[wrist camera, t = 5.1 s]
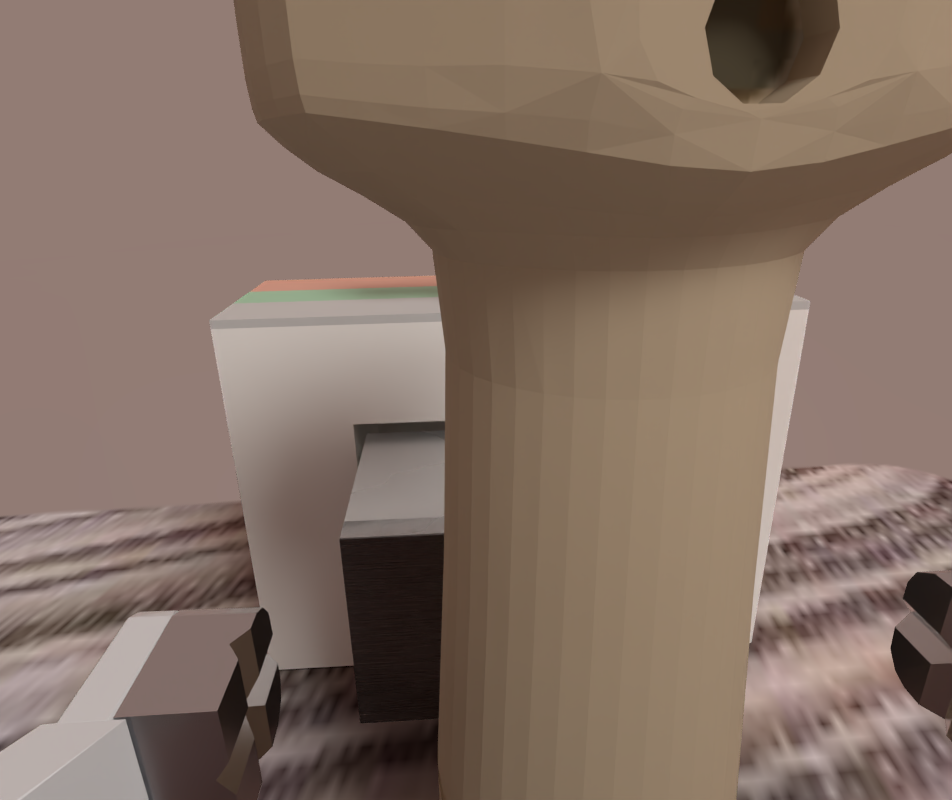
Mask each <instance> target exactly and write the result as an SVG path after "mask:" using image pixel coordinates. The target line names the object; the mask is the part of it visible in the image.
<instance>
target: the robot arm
mask: <svg viewBox="0 0 952 800" xmlns="http://www.w3.org/2000/svg"><path fill="white" fill-rule="evenodd" d="M903 600H904V602H905V603H906V605H907V607H908V609H909V610H910V613H909V614H908V615H907V616H906V617H905V618H904V619H903V620H902V621H901V622H900V623H899V624H898V625H897V626H896V627H895V630H894V635H893V639H892V644H891V653H892V658H893V662H894V667H895V671H896V673H897V675H898V677H899V678H900V680H901V682H902V684H903V686H904V688H905V689H906V690H907V691H908V692H909V693H910V695H911V696H912V697H913V698H914V699H915V700H916V702H917V703H918V704H919V705H921V706H922V707H924V708H926V709H928V710H930V711H931V712H933V713H935V714H937V715H938V716H940V717H942V718H944V719H945V726H946V736H947V737H948V738H949V739H950V740H951V741H952V570H945V571H929V572H917V573H916V574H915V575H914V576H913V577H912V578H911V579H910V580H909V581H908V583H907V587H906V590H905V593H904V597H903ZM272 636H273V632H272V627H271V622H270V617H269V613H268V612H267V611H266V610H265V609H264V608H263V607H257V608H225V609H194V610H180V611H152V612H138V613H136V614H134V615H133V616H131V617H129V618H128V619H127V620H126V621H125V623H124V624H123V626H122V627H121V629H120V630H119V632H118V633H117V635H116V636H115V638H114V639H113V641H112V642H111V643H110V645H109V646H108V648H107V649H106V651H105V652H104V654H103V655H102V657H101V658H100V660H99V661H98V663H97V664H96V666H95V667H94V668H93V670H92V671H91V673H90V674H89V676H88V677H87V679H86V680H85V682H84V683H83V685H82V686H81V688H80V689H79V691H78V692H77V693H76V695H75V696H74V698H73V699H72V701H71V702H70V704H69V705H68V707H67V708H66V710H65V711H64V713H63V714H62V716H61V717H60V719H59V720H58V721H57V723H55V724H41V725H40V726H38V727H37V728H35V729H34V730H32V731H31V732H29V733H28V734H26V735H25V736H23V737H22V738H20V739H19V740H18V741H16V742H15V743H13V744H12V745H10V746H9V747H7V748H6V749H4V750H3V751H1V752H0V800H257V799H258V796H259V792H260V789H261V785H262V776H261V771H260V766H259V759H260V758H261V757H262V756H263V755H264V754H265V753H266V752H267V751H268V750H269V749H270V748H271V747H272V746H273V742H274V738H275V734H276V730H277V727H278V721H279V712H280V703H281V682H280V673H279V667H278V663H277V662H276V661H275V660H274V659H273V658H272V657H270V656H269V655H268V654H267V651H268V648H269V645H270V642H271V639H272Z"/></svg>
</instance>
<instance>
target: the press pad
mask: <svg viewBox="0 0 952 800" xmlns="http://www.w3.org/2000/svg"><path fill="white" fill-rule="evenodd" d="M444 487H445V430H442V431H417V432H393V433H368V434H367V435H366V439H365V443H364V447H363V450H362V454H361V458H360V462H359V466H358V470H357V473H356V477H355V481H354V485H353V489H352V493H351V496H350V500H349V504H348V508H347V512H346V516H345V520H344V523H343V527H342V531H341V535H340V539H339V542H340V550H341V559H342V568H343V576H344V585H345V594H346V602H347V611H348V620H349V628H350V637H351V646H352V654H353V663H354V672H355V680H356V689H357V698H358V706H359V715H360V723H374V722H391V721H407V720H423V719H439V696H440V664H441V632H442V599H443V567H444Z"/></svg>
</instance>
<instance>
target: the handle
mask: <svg viewBox="0 0 952 800" xmlns="http://www.w3.org/2000/svg"><path fill="white" fill-rule="evenodd" d="M234 7H235V14H236V21H237V27H238V35H239V41H240V48H241V54H242V61H243V67H244V73H245V80H246V84H247V89H248V93H249V97H250V102H251V106H252V110H253V112H254V115H255V117H256V120H257V123H258V124H259V125H260V126H261V127H262V128H264V129H265V130H266V131H267V132H268V133H269V134H270V135H271V136H272V137H273V138H275V140H277V141H278V142H279V143H280V144H281V145H282V146H283V147H285V148H286V149H287V150H289V151H290V152H291V153H293V154H294V155H295V156H297V157H298V158H300V159H301V160H302V161H304V162H305V163H306V164H308V165H309V166H311V167H312V168H313V169H315V170H316V171H318V172H320V173H321V174H323V175H325V176H327V177H329V178H331V179H333V180H335V181H336V182H338V183H340V184H342V185H344V186H346V187H347V188H349V189H351V190H353V191H355V192H357V193H359V194H361V195H363V196H364V197H366V198H368V199H369V200H371V201H372V202H374V203H376V204H377V205H379V206H381V207H382V208H384V209H386V210H387V211H389V212H390V213H392V214H394V215H395V216H397V217H399V218H400V219H402V220H403V221H405V222H406V223H407V224H408V225H409V226H410V227H411V228H412V229H413V230H414V231H415V232H416V233H417V234H418V235H419V236H420V237H421V239H422V240H423V241H424V242H425V243H426V244H427V245H428V246H429V247H430V248H431V249H432V251H433V259H434V266H435V274H436V282H437V289H438V297H439V305H440V312H441V320H442V328H443V336H444V343H445V487H444V567H443V599H442V632H441V664H440V696H439V728H438V768H439V799H440V800H736V797H737V785H738V773H739V761H740V749H741V737H742V725H743V713H744V701H745V689H746V677H747V665H748V653H749V641H750V629H751V617H752V605H753V593H754V583H755V573H756V564H757V555H758V545H759V536H760V527H761V517H762V508H763V499H764V489H765V480H766V470H767V461H768V452H769V442H770V433H771V424H772V414H773V405H774V396H775V386H776V377H777V367H778V361H779V357H780V353H781V348H782V344H783V340H784V335H785V331H786V327H787V323H788V318H789V314H790V310H791V306H792V301H793V297H794V293H795V289H796V284H797V280H798V276H799V272H800V267H801V263H802V259H803V254H804V250H805V249H806V248H807V247H808V246H809V245H810V244H811V243H812V242H813V241H815V239H816V238H817V237H818V236H820V234H821V233H822V232H824V231H825V230H826V229H827V227H829V226H830V224H832V223H833V221H835V220H836V219H837V218H838V217H839V216H840V215H842V214H844V213H845V212H847V211H849V210H850V209H852V208H854V207H855V206H857V205H859V204H860V203H862V202H864V201H865V200H867V199H868V198H870V197H872V196H873V195H875V194H877V193H878V192H880V191H882V190H883V189H885V188H887V187H888V186H890V185H892V184H894V183H896V182H898V181H900V180H902V179H904V178H906V177H907V176H909V175H911V174H913V173H915V172H917V171H919V170H921V169H923V168H925V167H927V166H929V165H931V164H933V163H935V162H937V161H938V160H940V159H942V158H944V157H946V156H948V155H949V154H951V153H952V0H234Z"/></svg>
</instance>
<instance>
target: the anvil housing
mask: <svg viewBox="0 0 952 800" xmlns="http://www.w3.org/2000/svg"><path fill="white" fill-rule="evenodd" d="M809 306H810V301H809V300H806V299H804V298H801V297H799V296H796V295H794V297H793V301H792V306H791V310H790V314H789V318H788V323H787V327H786V331H785V335H784V340H783V344H782V348H781V353H780V357H779V361H778V367H777V377H776V386H775V396H774V405H773V414H772V424H771V433H770V442H769V452H768V461H767V470H766V480H765V489H764V499H763V508H762V517H761V527H760V536H759V545H758V555H757V564H756V573H755V583H754V593H753V605H752V617H751V629H750V641H749V643H751V641H752V635H753V629H754V624H755V618H756V612H757V606H758V600H759V595H760V589H761V583H762V577H763V572H764V566H765V560H766V554H767V549H768V543H769V537H770V531H771V525H772V520H773V514H774V508H775V502H776V497H777V491H778V485H779V479H780V474H781V468H782V462H783V456H784V450H785V445H786V439H787V433H788V427H789V422H790V416H791V410H792V404H793V398H794V393H795V387H796V381H797V375H798V370H799V364H800V358H801V352H802V346H803V341H804V335H805V329H806V323H807V318H808V312H809ZM209 322H210V327H211V333H212V338H213V345H214V350H215V355H216V362H217V367H218V372H219V378H220V384H221V390H222V395H223V401H224V407H225V412H226V418H227V424H228V430H229V435H230V440H231V446H232V452H233V458H234V463H235V468H236V475H237V480H238V486H239V492H240V497H241V503H242V509H243V514H244V520H245V526H246V531H247V537H248V543H249V548H250V554H251V560H252V565H253V571H254V577H255V582H256V588H257V594H258V599H259V605H260V607H263V608H264V609H265V610H266V611H267V612H268V613H269V617H270V622H271V627H272V632H273V636H272V639H271V642H270V645H269V648H268V655H269V656H270V657H272V658H273V659H274V660H275V661H276V662H277V663H278V667H279V670H284V669H301V668H319V667H336V666H354V663H353V654H352V646H351V637H350V628H349V620H348V611H347V602H346V594H345V585H344V576H343V568H342V559H341V550H340V542H339V539H340V535H341V531H342V527H343V523H344V520H345V516H346V512H347V508H348V504H349V500H350V496H351V493H352V489H353V485H354V481H355V477H356V473H357V470H358V466H359V462H360V458H361V454H362V450H363V447H364V443H365V439H366V435H367V434H368V433H393V432H417V431H442V430H445V343H444V336H443V328H442V320H441V312H440V305H439V297H438V289H437V282H436V276H407V277H406V276H404V277H371V278H337V279H306V280H270V281H265V282H263V283H262V284H260V285H259V286H257V287H256V288H255V289H253V290H252V291H250V292H249V293H248V294H246V295H245V296H243V297H242V298H240V299H239V300H238V301H236V302H235V303H233V304H232V305H231V306H229V307H228V308H226V309H225V310H224V311H222V312H221V313H219V314H218V315H216V316H215V317H214V318H213V319H211V320H209Z"/></svg>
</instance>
